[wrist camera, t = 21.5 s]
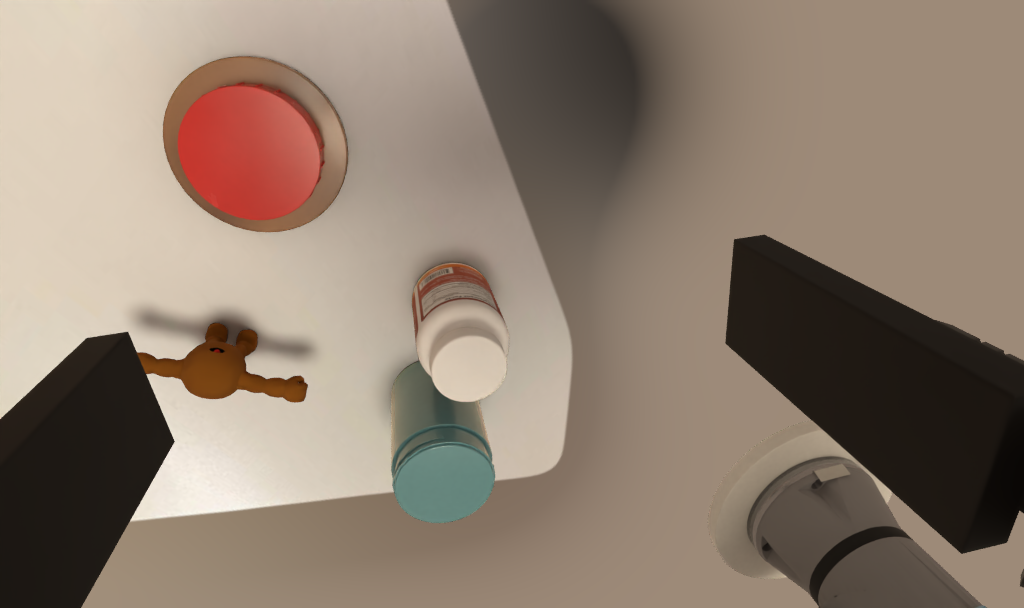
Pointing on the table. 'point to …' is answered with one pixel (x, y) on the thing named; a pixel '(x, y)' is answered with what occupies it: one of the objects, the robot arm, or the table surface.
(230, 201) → the cap
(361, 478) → the table surface
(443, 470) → the jar
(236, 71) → the coaster
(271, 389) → the toy figurine
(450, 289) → the pill bottle
